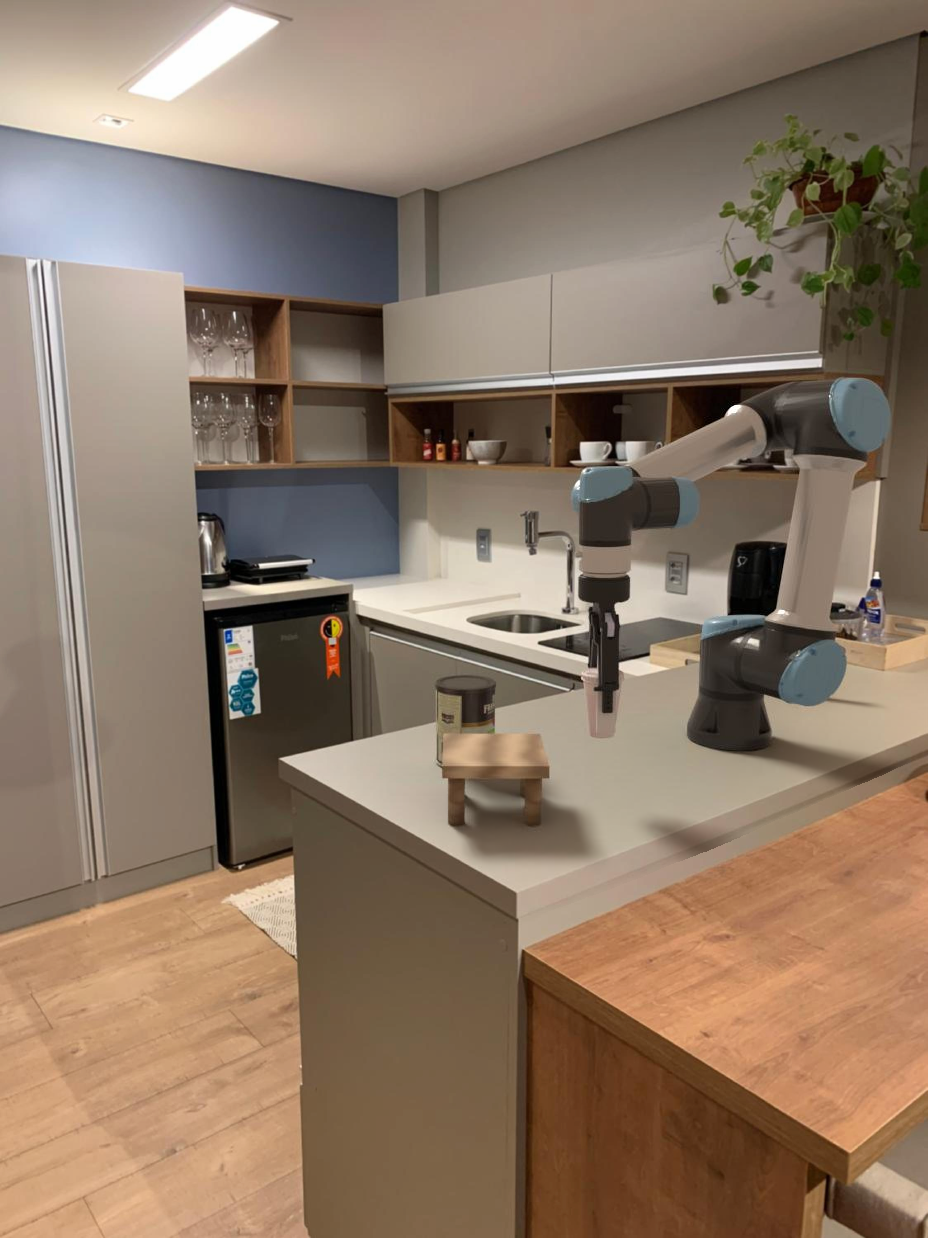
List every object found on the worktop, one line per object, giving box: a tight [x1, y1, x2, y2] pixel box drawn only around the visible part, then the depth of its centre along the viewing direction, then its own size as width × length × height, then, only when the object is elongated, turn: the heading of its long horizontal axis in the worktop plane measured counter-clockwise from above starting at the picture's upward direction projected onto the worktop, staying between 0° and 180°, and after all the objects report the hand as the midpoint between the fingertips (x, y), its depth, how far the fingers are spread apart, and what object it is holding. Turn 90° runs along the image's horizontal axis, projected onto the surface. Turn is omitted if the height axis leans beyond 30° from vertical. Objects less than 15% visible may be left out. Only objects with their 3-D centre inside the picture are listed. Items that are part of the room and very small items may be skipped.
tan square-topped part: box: [441, 733, 551, 827], centre depth 139 cm, size 15×15×9 cm
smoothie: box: [580, 656, 625, 739], centre depth 140 cm, size 6×6×14 cm
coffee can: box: [434, 674, 497, 768], centre depth 159 cm, size 10×10×14 cm
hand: (602, 725), depth 141 cm, fingers closed on smoothie, 6 cm apart
